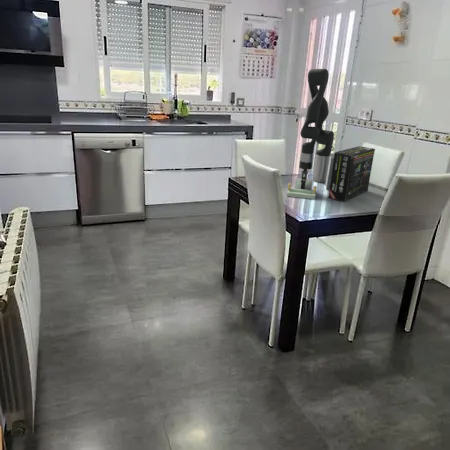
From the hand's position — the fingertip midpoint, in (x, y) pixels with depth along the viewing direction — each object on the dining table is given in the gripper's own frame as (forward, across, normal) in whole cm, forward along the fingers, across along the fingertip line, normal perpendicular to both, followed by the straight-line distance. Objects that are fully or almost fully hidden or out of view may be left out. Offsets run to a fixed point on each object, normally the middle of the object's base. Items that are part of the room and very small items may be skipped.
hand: (302, 187), depth 244 cm
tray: (+1, +14, 0) cm, 14 cm away
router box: (+1, -1, +27) cm, 27 cm away
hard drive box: (+1, -14, +18) cm, 22 cm away
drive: (+1, 0, 0) cm, 1 cm away
